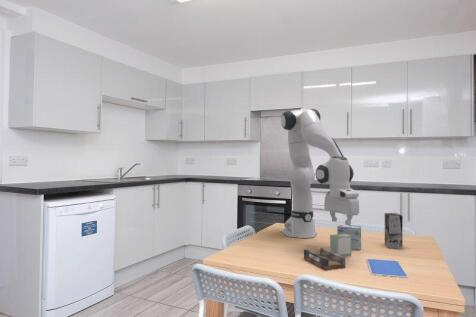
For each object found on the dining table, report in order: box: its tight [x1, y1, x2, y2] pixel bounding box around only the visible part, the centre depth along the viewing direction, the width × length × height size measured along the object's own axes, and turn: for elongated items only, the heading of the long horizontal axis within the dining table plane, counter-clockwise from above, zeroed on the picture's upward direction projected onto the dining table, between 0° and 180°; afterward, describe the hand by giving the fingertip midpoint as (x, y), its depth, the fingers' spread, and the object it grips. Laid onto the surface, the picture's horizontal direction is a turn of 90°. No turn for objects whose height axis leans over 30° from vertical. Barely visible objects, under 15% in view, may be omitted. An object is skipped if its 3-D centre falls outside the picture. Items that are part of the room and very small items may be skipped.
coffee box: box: [384, 212, 404, 250], centre depth 161 cm, size 9×6×16 cm
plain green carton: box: [329, 233, 352, 258], centre depth 145 cm, size 5×8×9 cm, turn 110°
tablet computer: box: [366, 258, 409, 279], centre depth 127 cm, size 19×13×1 cm, turn 164°
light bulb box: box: [336, 223, 362, 251], centre depth 159 cm, size 11×7×11 cm, turn 65°
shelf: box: [303, 247, 346, 271], centre depth 134 cm, size 16×9×4 cm, turn 20°
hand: (341, 223), depth 145 cm, fingers open, 8 cm apart
